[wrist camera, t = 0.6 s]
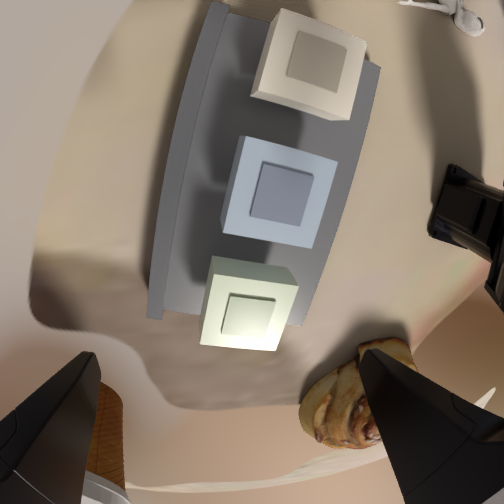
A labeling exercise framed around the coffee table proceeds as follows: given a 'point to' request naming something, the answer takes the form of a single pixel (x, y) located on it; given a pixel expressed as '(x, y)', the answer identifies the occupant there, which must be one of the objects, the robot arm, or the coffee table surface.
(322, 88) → the key ivory
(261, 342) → the key sage
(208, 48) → the keypad
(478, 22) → the woman figurine
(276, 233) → the key blue
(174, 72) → the coffee table surface
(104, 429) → the disposable coffee cup
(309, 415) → the pastry
